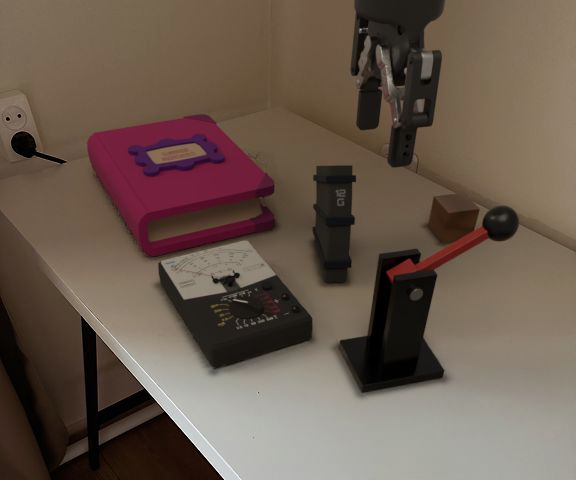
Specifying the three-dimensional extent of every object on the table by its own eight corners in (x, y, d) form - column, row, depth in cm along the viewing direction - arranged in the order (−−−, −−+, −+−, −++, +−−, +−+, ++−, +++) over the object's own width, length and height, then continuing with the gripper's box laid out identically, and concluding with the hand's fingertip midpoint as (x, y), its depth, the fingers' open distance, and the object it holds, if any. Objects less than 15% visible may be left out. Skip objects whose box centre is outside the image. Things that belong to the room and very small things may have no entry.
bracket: (414, 334, 79) (435, 237, 69) (442, 378, 73) (469, 279, 64) (338, 347, 77) (349, 249, 67) (361, 393, 71) (376, 293, 62)
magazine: (326, 287, 83) (326, 166, 78) (312, 272, 95) (311, 166, 90) (354, 286, 83) (356, 165, 78) (337, 271, 95) (337, 165, 90)
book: (143, 260, 89) (135, 211, 84) (92, 174, 107) (83, 129, 101) (278, 227, 96) (278, 180, 91) (209, 152, 114) (206, 109, 108)
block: (457, 222, 99) (464, 192, 95) (472, 239, 95) (480, 208, 92) (427, 226, 98) (433, 196, 94) (441, 243, 94) (448, 212, 91)
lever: (510, 218, 67) (504, 192, 65) (528, 236, 65) (522, 209, 62) (392, 286, 69) (381, 264, 67) (405, 306, 67) (394, 283, 64)
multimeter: (213, 372, 73) (210, 339, 70) (159, 283, 85) (154, 251, 82) (313, 340, 78) (315, 308, 74) (248, 260, 90) (247, 229, 86)
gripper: (491, -34, 47) (449, 174, 58) (413, -72, 56) (390, 113, 68) (395, -29, 45) (372, 184, 56) (332, -68, 55) (323, 120, 66)
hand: (382, 145), depth 62 cm, fingers open, 8 cm apart
